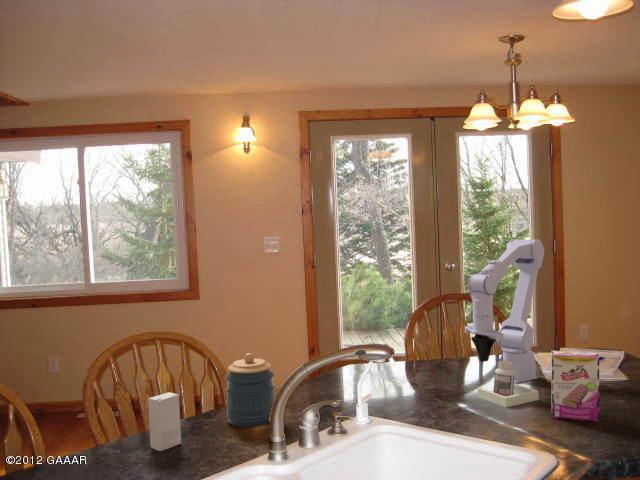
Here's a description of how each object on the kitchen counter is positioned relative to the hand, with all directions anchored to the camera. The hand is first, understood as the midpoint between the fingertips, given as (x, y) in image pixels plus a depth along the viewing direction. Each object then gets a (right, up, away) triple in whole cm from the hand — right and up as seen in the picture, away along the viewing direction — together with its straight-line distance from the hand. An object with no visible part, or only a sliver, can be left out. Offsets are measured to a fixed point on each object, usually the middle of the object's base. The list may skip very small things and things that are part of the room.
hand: (484, 360), depth 179 cm
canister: (-66, -12, -18) cm, 70 cm away
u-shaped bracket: (+4, -9, -8) cm, 13 cm away
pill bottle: (+4, -9, -7) cm, 12 cm away
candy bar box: (+16, -10, -25) cm, 31 cm away
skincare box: (-85, -14, -35) cm, 93 cm away
